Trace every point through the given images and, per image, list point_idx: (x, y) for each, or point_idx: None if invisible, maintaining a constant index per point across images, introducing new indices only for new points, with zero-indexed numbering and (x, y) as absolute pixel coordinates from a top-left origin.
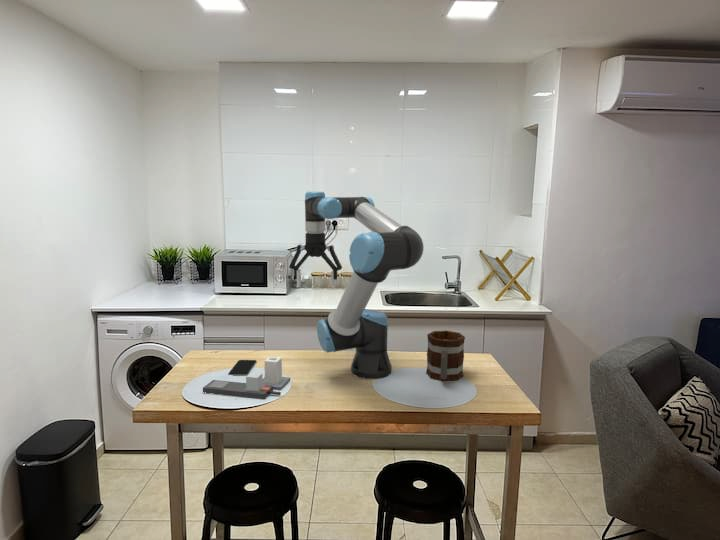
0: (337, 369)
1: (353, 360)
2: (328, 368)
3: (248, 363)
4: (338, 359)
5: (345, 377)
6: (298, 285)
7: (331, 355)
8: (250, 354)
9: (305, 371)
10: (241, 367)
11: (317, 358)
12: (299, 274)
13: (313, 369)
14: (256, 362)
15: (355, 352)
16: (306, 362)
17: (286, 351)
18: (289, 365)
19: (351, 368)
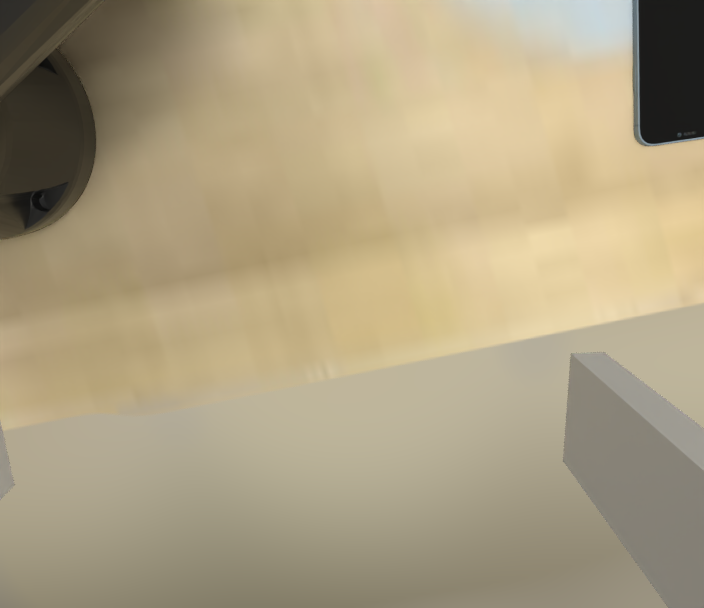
0: (171, 120)
1: (38, 83)
2: (223, 124)
3: (673, 85)
4: (212, 270)
5: None
6: (589, 365)
7: (266, 320)
8: (698, 246)
9: (332, 52)
10: (697, 17)
11: (325, 261)
12: (694, 548)
13: (298, 92)
14: (634, 127)
15: (12, 111)
16: (366, 190)
17: (518, 330)
18: (444, 125)
19: (71, 81)
